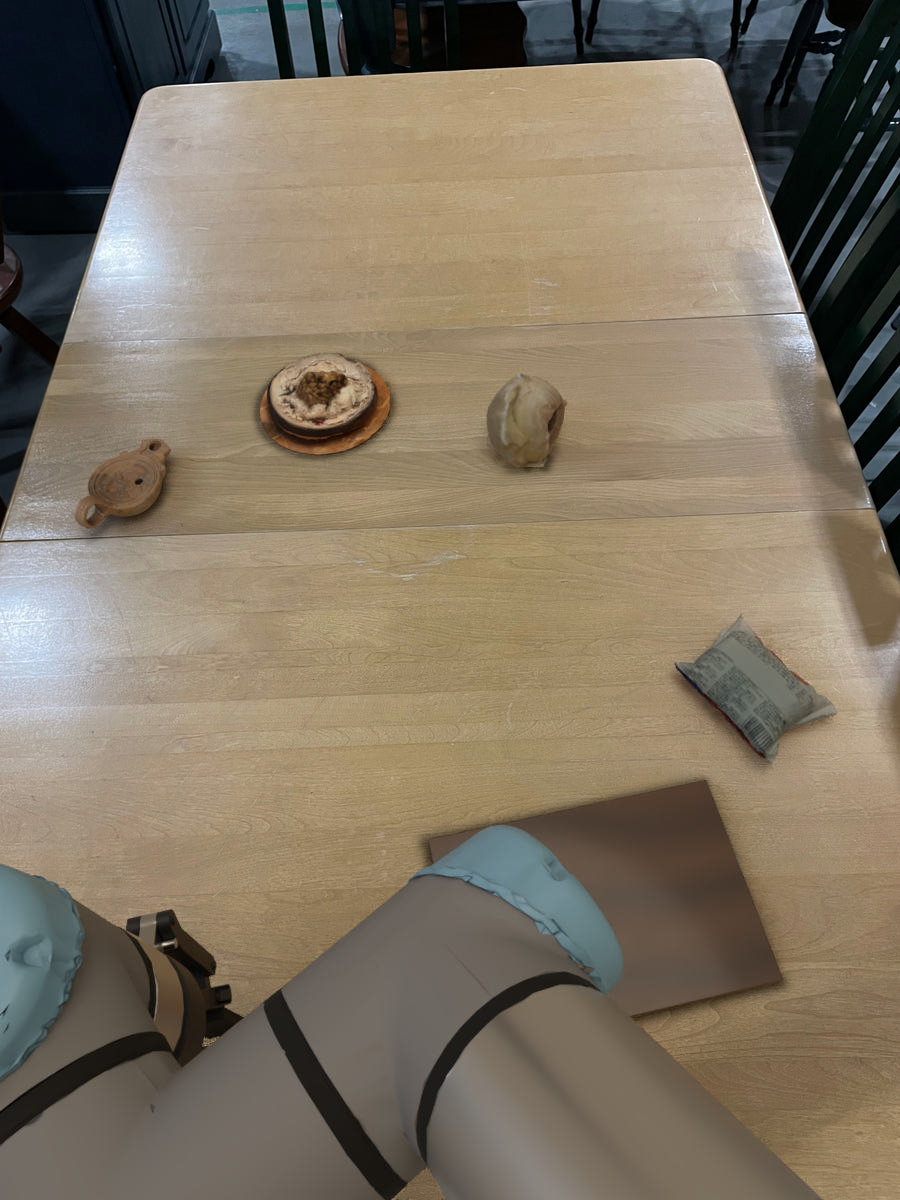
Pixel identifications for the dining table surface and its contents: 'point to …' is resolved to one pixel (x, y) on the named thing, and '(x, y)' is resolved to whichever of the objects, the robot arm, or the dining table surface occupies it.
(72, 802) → the dining table surface
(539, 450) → the beige rounded shell
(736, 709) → the packaged food
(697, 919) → the cutting board
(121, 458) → the oil lamp
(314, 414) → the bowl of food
